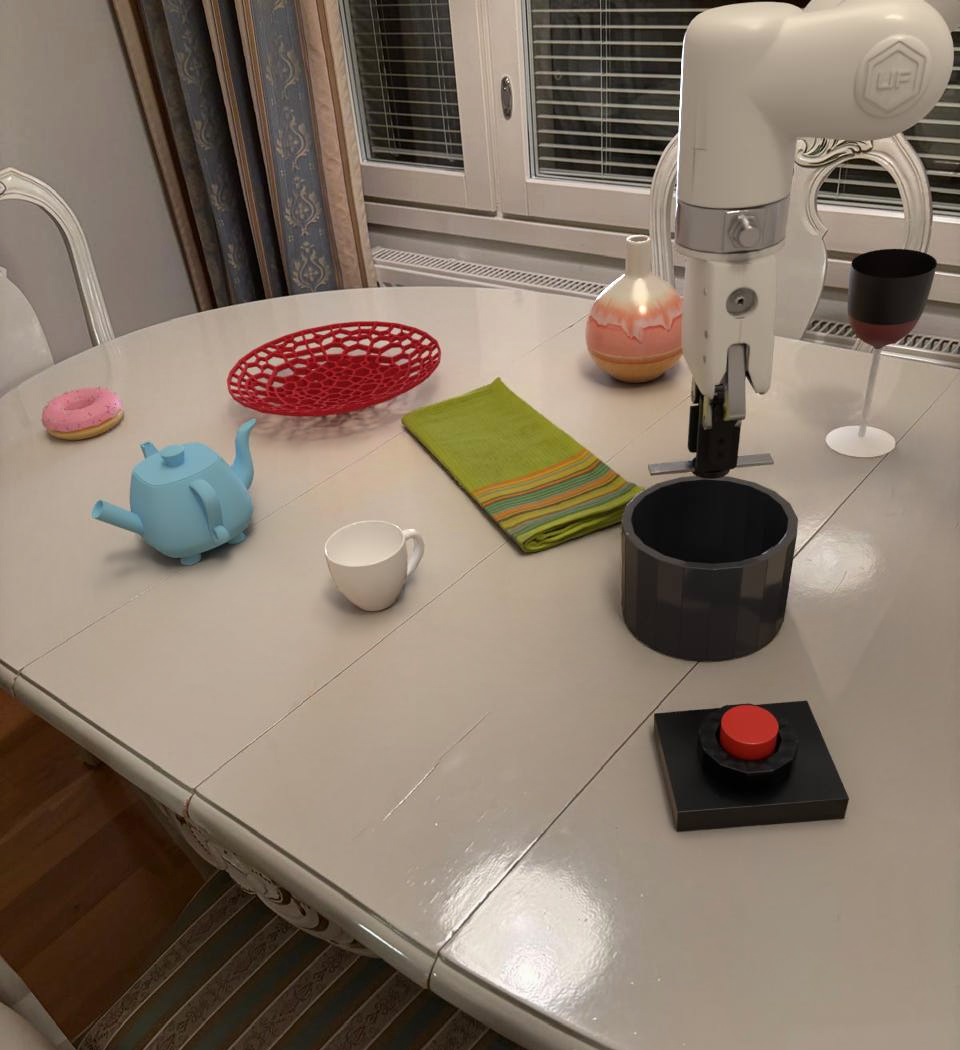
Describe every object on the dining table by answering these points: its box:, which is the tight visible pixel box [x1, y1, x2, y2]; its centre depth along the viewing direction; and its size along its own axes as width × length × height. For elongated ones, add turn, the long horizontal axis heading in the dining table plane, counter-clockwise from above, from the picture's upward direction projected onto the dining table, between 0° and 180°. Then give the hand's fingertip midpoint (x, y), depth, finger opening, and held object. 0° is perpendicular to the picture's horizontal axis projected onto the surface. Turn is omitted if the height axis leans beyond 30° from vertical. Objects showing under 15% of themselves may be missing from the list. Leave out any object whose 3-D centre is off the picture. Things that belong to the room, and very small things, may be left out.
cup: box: [323, 519, 425, 612], centre depth 89 cm, size 8×10×7 cm
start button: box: [720, 705, 779, 760], centre depth 67 cm, size 4×4×2 cm
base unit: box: [652, 700, 850, 832], centre depth 68 cm, size 12×10×4 cm
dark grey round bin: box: [620, 475, 799, 663], centre depth 82 cm, size 15×15×10 cm
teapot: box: [91, 418, 257, 566], centre depth 99 cm, size 15×14×11 cm
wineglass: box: [825, 248, 938, 458], centre depth 99 cm, size 8×9×20 cm
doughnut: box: [40, 386, 124, 441], centre depth 127 cm, size 11×11×4 cm
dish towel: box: [400, 376, 646, 553], centre depth 107 cm, size 15×36×3 cm, turn 25°
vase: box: [584, 234, 684, 384], centre depth 119 cm, size 14×14×18 cm
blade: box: [647, 394, 775, 479], centre depth 73 cm, size 10×3×6 cm, turn 91°
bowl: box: [226, 320, 442, 418], centre depth 126 cm, size 29×29×5 cm
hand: (711, 457), depth 75 cm, fingers closed on blade, 2 cm apart
